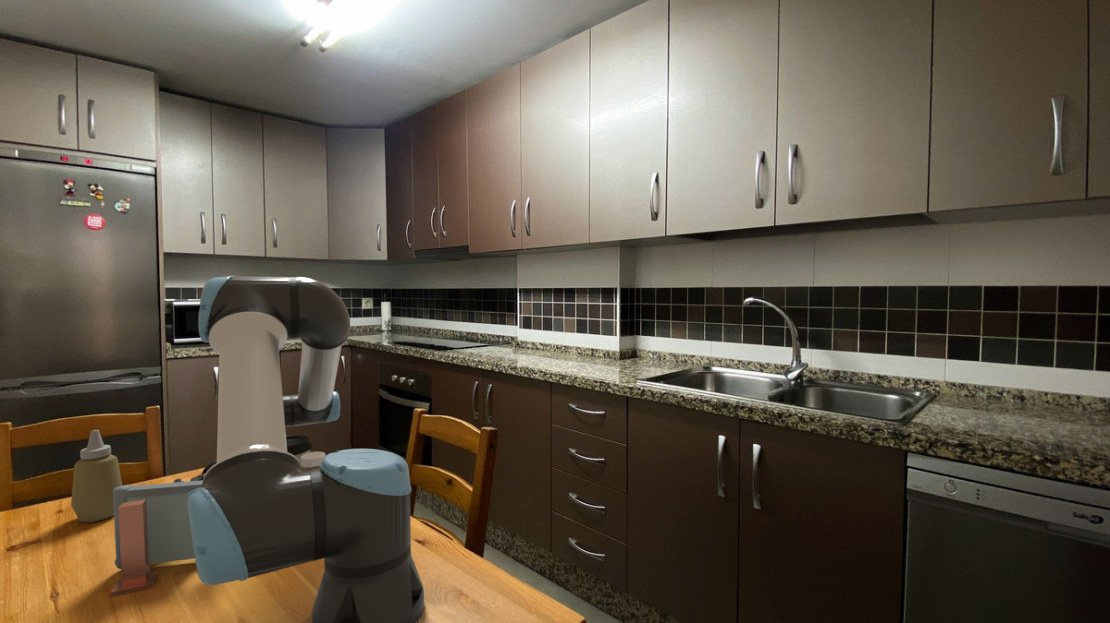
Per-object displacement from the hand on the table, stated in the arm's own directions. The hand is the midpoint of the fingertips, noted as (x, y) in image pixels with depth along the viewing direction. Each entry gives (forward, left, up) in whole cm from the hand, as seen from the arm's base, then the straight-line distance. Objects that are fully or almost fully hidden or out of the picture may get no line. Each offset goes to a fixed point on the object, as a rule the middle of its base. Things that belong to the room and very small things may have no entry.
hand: (143, 523), depth 86 cm
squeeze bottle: (+30, +6, -7) cm, 31 cm away
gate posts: (-7, -5, -7) cm, 11 cm away
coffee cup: (+7, -24, -7) cm, 26 cm away
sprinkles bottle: (-1, -27, -7) cm, 28 cm away
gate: (-3, -3, -7) cm, 8 cm away
